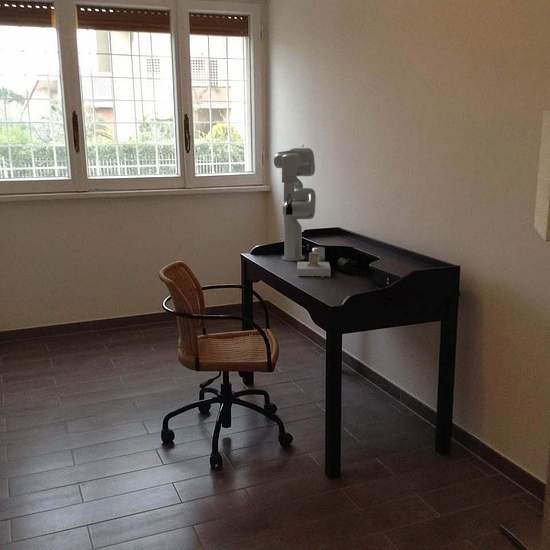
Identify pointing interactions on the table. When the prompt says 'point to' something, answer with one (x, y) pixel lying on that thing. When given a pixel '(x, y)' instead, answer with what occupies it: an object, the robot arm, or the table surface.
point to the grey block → (319, 253)
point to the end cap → (346, 265)
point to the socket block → (313, 269)
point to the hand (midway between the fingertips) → (289, 213)
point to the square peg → (313, 259)
